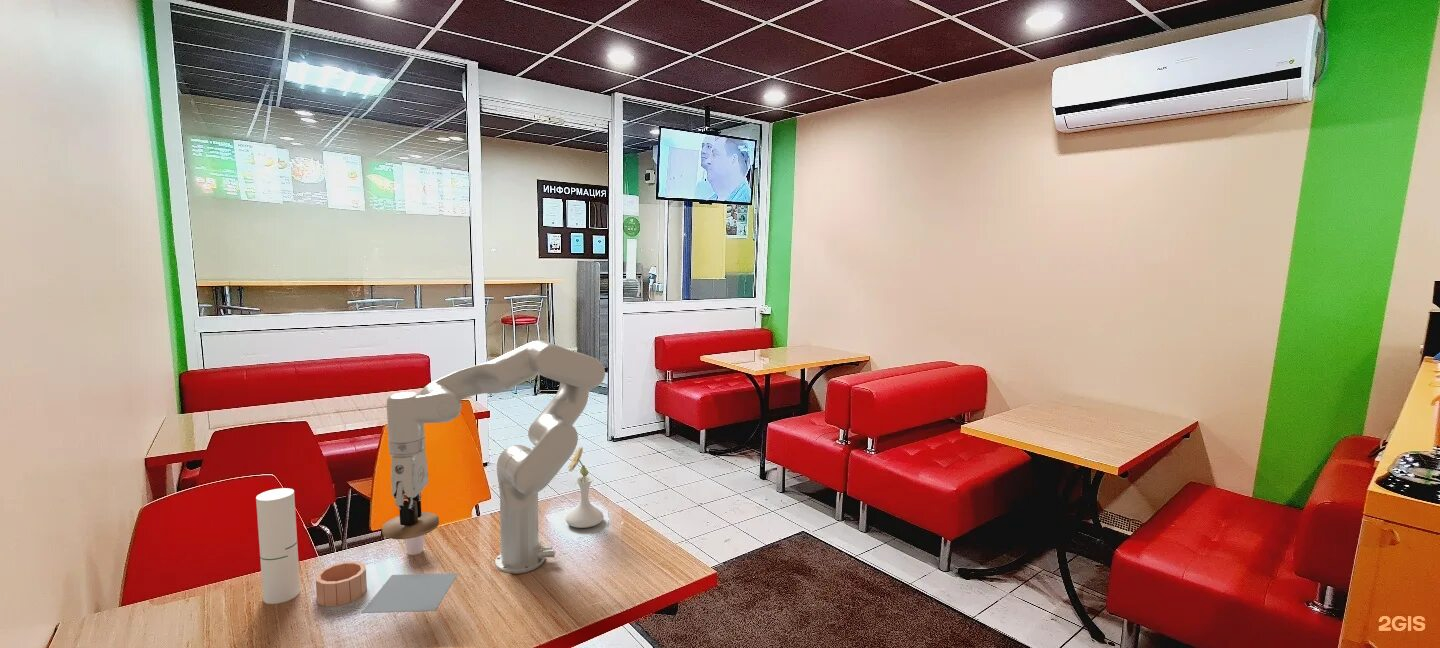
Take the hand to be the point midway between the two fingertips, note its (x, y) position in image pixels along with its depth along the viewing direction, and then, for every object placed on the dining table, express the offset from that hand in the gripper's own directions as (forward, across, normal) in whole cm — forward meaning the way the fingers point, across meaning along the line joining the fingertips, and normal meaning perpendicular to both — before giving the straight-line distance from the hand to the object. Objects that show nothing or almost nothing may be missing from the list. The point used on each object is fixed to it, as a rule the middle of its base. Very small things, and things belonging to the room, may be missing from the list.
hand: (411, 520), depth 145 cm
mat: (+19, 0, 0) cm, 19 cm away
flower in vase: (+19, +36, -36) cm, 54 cm away
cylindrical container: (+19, +1, +30) cm, 36 cm away
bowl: (+19, 0, +16) cm, 25 cm away
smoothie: (+19, +20, +7) cm, 28 cm away
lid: (+2, 0, 0) cm, 2 cm away
